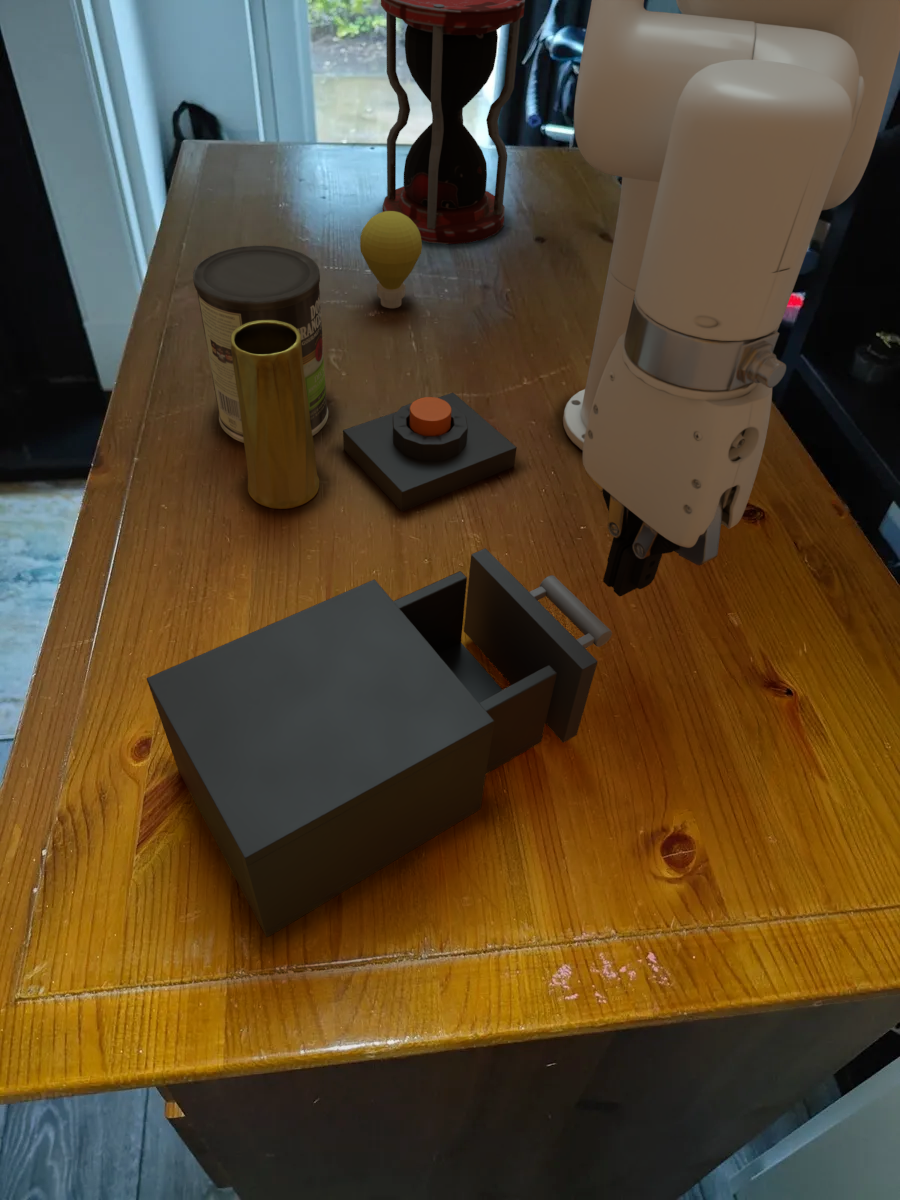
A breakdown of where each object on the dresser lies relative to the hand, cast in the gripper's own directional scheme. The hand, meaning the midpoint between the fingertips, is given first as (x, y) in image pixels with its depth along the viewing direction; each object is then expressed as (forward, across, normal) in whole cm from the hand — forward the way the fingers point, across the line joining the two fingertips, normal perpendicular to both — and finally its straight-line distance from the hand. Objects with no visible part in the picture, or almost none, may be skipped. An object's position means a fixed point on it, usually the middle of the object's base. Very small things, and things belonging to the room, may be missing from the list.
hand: (627, 581), depth 58 cm
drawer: (+6, 0, +13) cm, 14 cm away
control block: (+6, +25, -1) cm, 26 cm away
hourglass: (+6, +67, -31) cm, 74 cm away
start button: (+2, +25, -1) cm, 25 cm away
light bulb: (+6, +51, -13) cm, 53 cm away
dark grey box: (+7, 0, +23) cm, 24 cm away
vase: (+6, +28, +12) cm, 32 cm away
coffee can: (+6, +38, +8) cm, 40 cm away
